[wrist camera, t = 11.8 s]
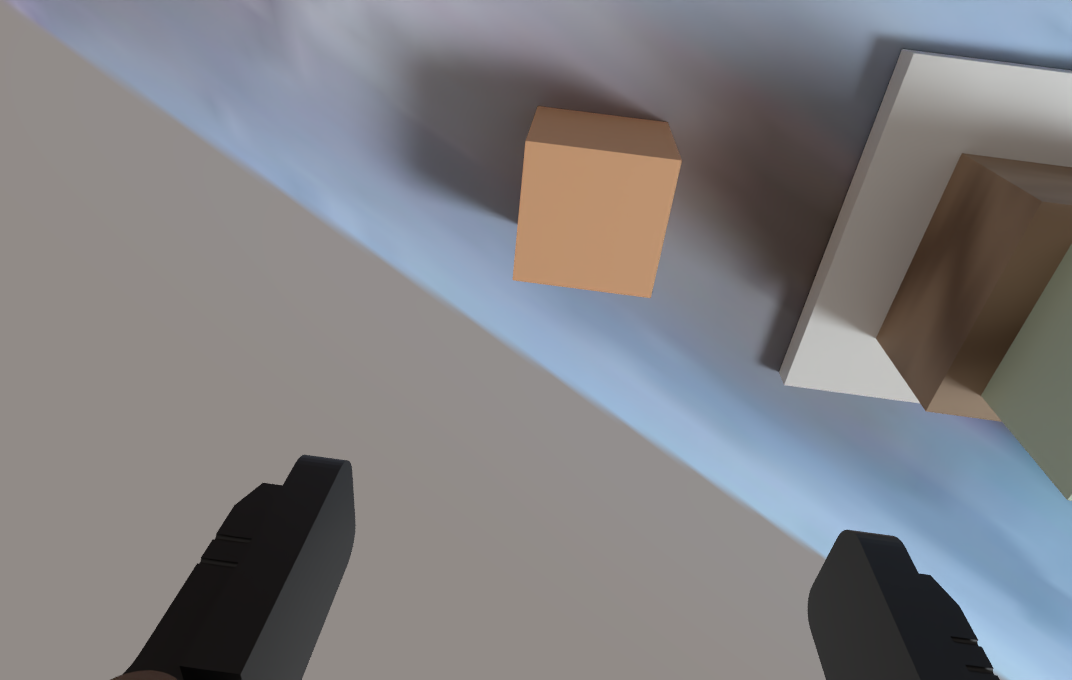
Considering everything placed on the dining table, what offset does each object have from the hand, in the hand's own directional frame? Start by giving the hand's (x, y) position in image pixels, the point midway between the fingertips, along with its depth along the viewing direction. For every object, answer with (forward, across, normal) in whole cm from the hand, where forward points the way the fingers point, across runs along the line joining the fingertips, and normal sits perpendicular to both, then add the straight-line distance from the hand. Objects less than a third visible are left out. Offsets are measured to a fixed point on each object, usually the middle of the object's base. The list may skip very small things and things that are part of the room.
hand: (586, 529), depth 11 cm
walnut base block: (+17, -17, +1) cm, 24 cm away
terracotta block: (+18, 0, 0) cm, 18 cm away
